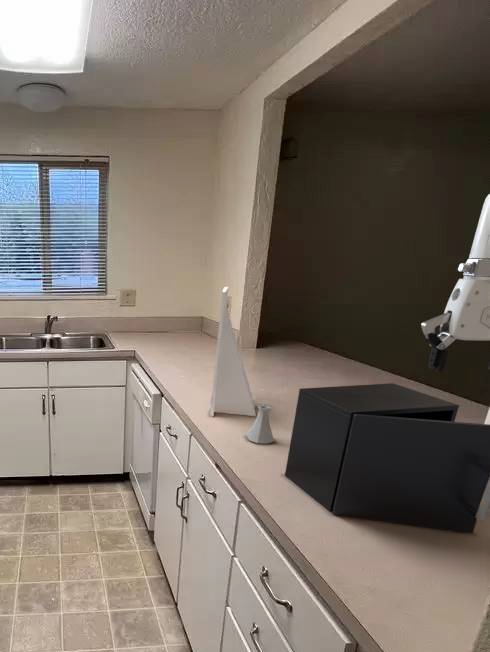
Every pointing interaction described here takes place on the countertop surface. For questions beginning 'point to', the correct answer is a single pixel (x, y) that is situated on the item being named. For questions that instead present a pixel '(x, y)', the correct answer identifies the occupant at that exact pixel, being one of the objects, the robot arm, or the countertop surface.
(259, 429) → the flask
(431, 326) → the robot arm
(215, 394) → the white bracket plate
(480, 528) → the countertop surface
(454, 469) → the fridge door
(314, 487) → the mini fridge
